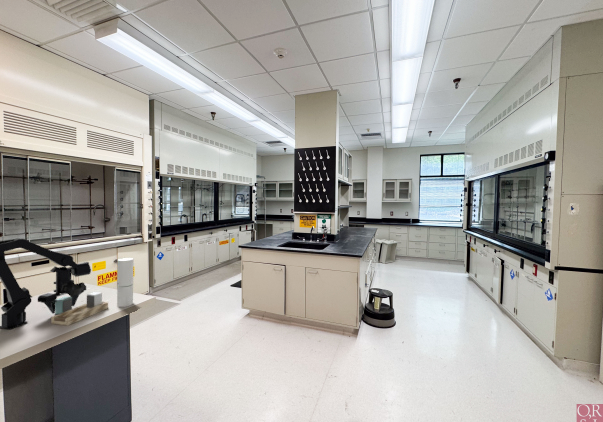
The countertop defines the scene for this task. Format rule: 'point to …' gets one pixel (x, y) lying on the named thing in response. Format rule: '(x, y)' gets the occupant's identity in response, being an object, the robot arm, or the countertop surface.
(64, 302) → the teal block
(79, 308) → the wooden tray
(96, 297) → the grey rectangular block
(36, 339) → the countertop surface
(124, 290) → the cylindrical container
